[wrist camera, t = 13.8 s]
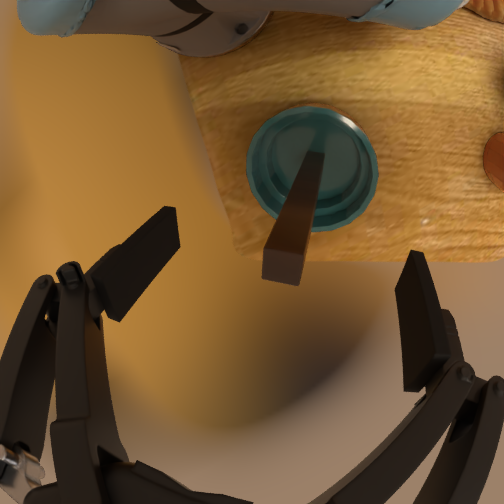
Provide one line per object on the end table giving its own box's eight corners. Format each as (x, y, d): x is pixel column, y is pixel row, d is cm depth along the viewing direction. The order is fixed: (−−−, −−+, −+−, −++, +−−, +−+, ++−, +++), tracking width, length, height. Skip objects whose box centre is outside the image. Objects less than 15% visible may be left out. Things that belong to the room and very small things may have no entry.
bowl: (263, 97, 28) (247, 100, 23) (379, 113, 25) (388, 120, 21) (259, 198, 35) (244, 220, 31) (360, 216, 33) (362, 242, 28)
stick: (307, 150, 29) (263, 247, 14) (325, 153, 29) (304, 255, 13) (305, 167, 31) (261, 279, 15) (322, 170, 30) (298, 287, 14)
